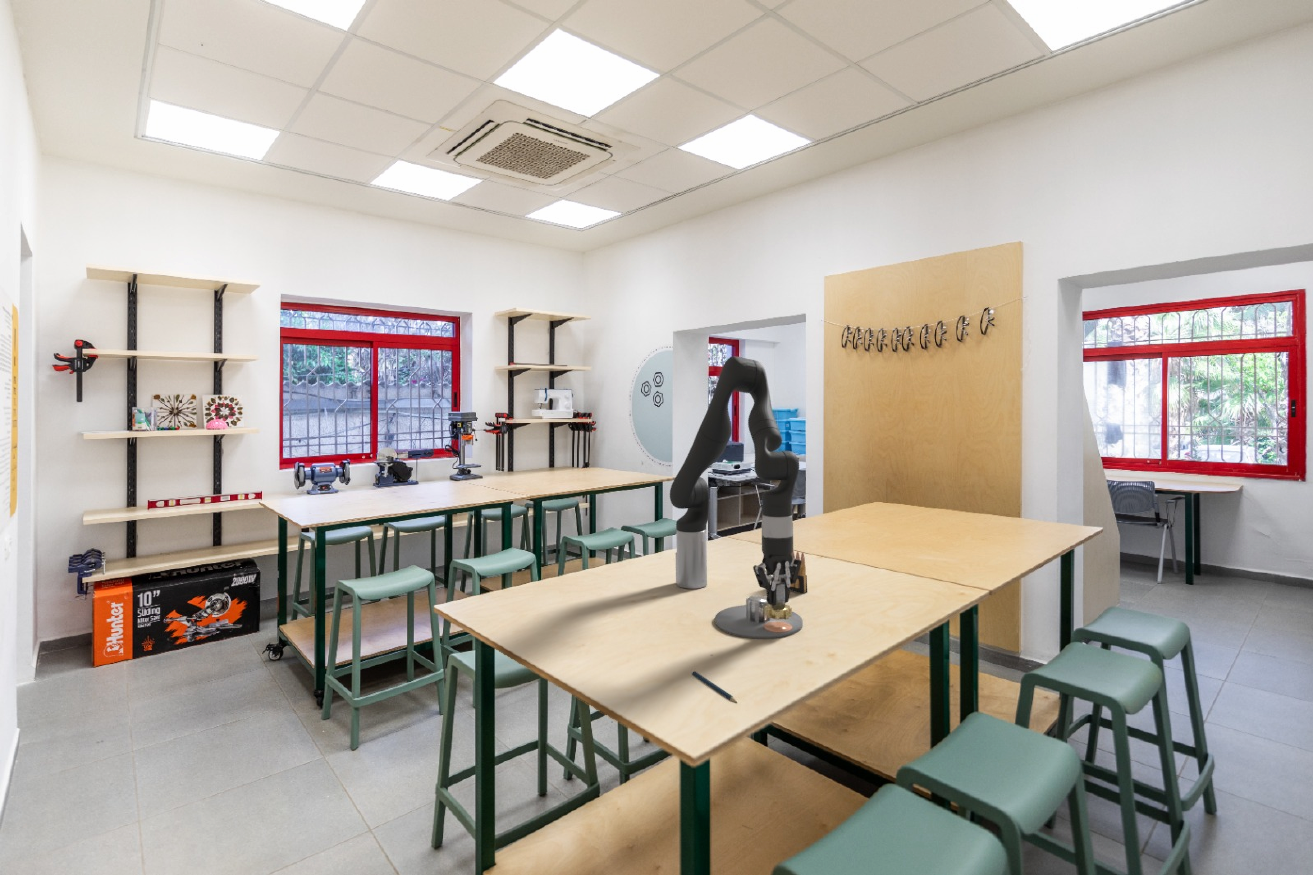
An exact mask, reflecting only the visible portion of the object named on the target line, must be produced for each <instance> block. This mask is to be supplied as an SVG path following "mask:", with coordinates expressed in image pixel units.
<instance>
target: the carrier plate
mask: <svg viewBox="0 0 1313 875" xmlns="http://www.w3.org/2000/svg"><path fill="white" fill-rule="evenodd" d="M765 606H768V602H767V596H762V595H757V596H756V595H755V596H753V595H751V596H749V597H746V599H745V604H743V605H736V606H731V607H728V608H727V607H726V608H724V609H722V610H720V611H718V612H717V613H716V614H715V617H714V624H715V626H716V627H717V628H718V629H719V630H721V631H722V632H725V633H726V634H729V635H732V636H736V637H741V638H742V637H743V638H748V639H757V640H758V639H759V640H760V639H761V640H762V639H763V640H765V639H766V640H769V639H772V640H773V639H780V638H785V637H788V636H789V637H790V636H792V635H795V634H797V633H799V632H800V631H801V630H802V628H803V627H804V626H803V618H802V617H801V615H800V614H798V613H796V612H794V611H792V617H789V619H787V620H785V619H779V620H775V619H773V618H770V619H769V618H767V615H765Z"/></svg>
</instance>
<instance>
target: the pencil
mask: <svg viewBox="0 0 1313 875" xmlns="http://www.w3.org/2000/svg"><path fill="white" fill-rule="evenodd" d="M691 675H692V676H694V677H695V678H696V679H698V680H699V679H700V680H699V681H700V682H702V683H704V684H705V683H706V685H707V686H708V687H710V688H711V689H713V690H714V691H716V692H718V693H719V694H720V695H721V696H723V697H724V698H726V699H728V700H729V701H731V702H734V703H738V702H737V700H736V699H735V698H734V696H733V695H732V694H730V693H728V692H727V691H725V690H724V689H722V688H721V687H720V686H718V685H716V684H715V683H713V682H712V681H710V680H709V679H707V678H706V677H704V676H703V675H701V674H700V673H698V672H697V671H692V673H691Z"/></svg>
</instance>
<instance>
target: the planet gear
mask: <svg viewBox="0 0 1313 875" xmlns="http://www.w3.org/2000/svg"><path fill="white" fill-rule="evenodd" d="M775 590H776V605H773V606H772V605H770V604H768V606H765V615H767V618H769V619H770V618H773V619H775V620H779V619H785V620H787V619H789V617H792V612H793V608H792V607H790V605H789V604H786V603H785V583H784V582H780V581H776V587H775Z"/></svg>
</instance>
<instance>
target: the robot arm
mask: <svg viewBox="0 0 1313 875" xmlns="http://www.w3.org/2000/svg"><path fill="white" fill-rule="evenodd" d="M734 392H739V393H744V394H749V395H750V396H751V398H752V399H753V406H752V408H751V411H750V412H749V415H748V420H747V422H748V423H747V426H748V430H749V433H750V436H751V439H752V442H753V447H754V472H755V475H756V476H757V477H758V478H759V479H760V481H761V480H762V481H765V482H773V481H780V482H779V484H778V485H777V486H776V487H775V488H773V489H769V490H766V491H764V492H763V494H762V504H761V505H762V517H761V552H762V554H763V557H762V560H761V563H760V564H758V565H756V564H755V565H754V566H752V569H753V572H754V575H755V577H756V580H757V584H758V586H759V588H762V589H765V591H766V597H767V602H768V604H770V605H772V606H773V605H776V590H775V587H776V581H778V576H779V579H780V582H784V583H785V604H787V603H788V602H789V600H790V590H789V587H790V586H791V584H795V583H796V580H797V577H798V573H799V570H800V566H801V559H800V560H798V559H796V557H795V558H793V557H792V553H793V551H794V522H793V494H794V490H795V488H796V487H795V486H796V483H797V479H798V475H799V471H800V462H799V458H798V457H797V454H796V453H794V452H793V451H790V450H781V451H780V450H778V449H779V448H780V447H781V446H782V444H783V437H782V434H781V432H780V429H779V426H778V424H777V422H776V418H775V415H774V411H773V407H772V401H771V395H770V388H769V382H768V377H767V372H766V369H765V367H764V365H763V364H762V363H761V362H760V361H758V360H755V359H750V358H746V357H741V356H734V355H733V356H730V357H729V358H727V360H726V361H725V362H724V364H723V366H722V369H721V370H720V373H719V377H718V380H717V382H716V386H715V389H714V391H713V394H712V398H711V401H710V403H709V405H708V407H707V410H706V413H705V415H704V417H703V419H702V421H701V423H700V426H699V428H698V430H697V433H696V435H695V437H694V440H693V442H692V444H691V447H690V449H689V452H688V453H687V456H686V457H685V460H684V462H683V464H682V466H681V467H680V470H678V472H677V475H676V476H675V478H674V480H673V481H672V483H671V486H670V490H669V499H670V503H671V504H672V506H673V507H675V508H677V509H680V510H682V509H683V510H685V509H686V512H685V513H684V514H683V515H682V516H681V517H680V518H678V519H677V520H676V524H675V525H676V526H675V527H676V528H675V529H676V532H675V533H676V534H675V535H676V552H675V583H676V584H677V586H678V587H679V588H682V589H689V590H690V589H693V590H694V589H701V588H704V587H706V586H707V585H708V565H707V564H708V563H707V562H708V555H707V554H708V553H707V552H708V551H707V546H708V545H707V524H708V522H709V515H710V508H709V507H710V489H709V485H708V483H707V481H706V480H705V479H704V478H703V477H701V476H702V475H703V474H704V472H706V471H707V470H708V468H709V467H711V466H712V465H713V464H715V462H716V461H717V460H719V458H720V457H721V456H722V455H723V453H724V451H726V450H725V449H726V447H727V445H728V443H729V441H730V440H731V439H730V438H731V435H732V432H733V429H732V423H731V416H730V413H729V403H730V399H731V397H732V394H733V393H734ZM777 450H778V451H777ZM792 573H793V576H792ZM791 577H792V578H791Z"/></svg>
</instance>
